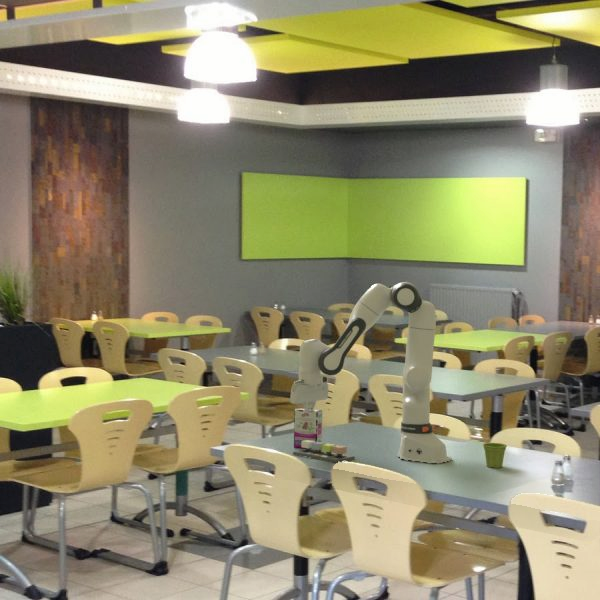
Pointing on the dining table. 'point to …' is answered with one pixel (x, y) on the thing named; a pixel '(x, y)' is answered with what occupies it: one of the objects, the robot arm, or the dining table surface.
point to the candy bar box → (307, 426)
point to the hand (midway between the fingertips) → (308, 412)
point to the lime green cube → (328, 448)
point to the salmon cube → (339, 450)
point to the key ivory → (307, 444)
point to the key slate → (317, 446)
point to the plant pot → (494, 454)
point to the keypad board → (323, 455)
